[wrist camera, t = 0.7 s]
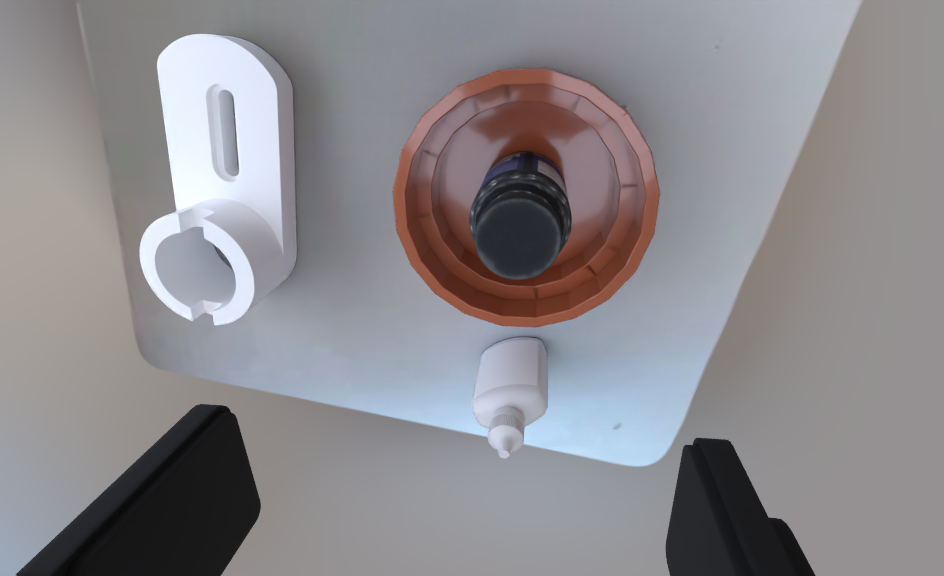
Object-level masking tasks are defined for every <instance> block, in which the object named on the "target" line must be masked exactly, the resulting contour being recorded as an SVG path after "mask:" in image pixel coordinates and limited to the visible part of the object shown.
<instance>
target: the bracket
mask: <svg viewBox="0 0 944 576" xmlns="http://www.w3.org/2000/svg"><path fill="white" fill-rule="evenodd" d="M157 70H158V78H159V85H160V92H161V100H162V107H163V114H164V122H165V129H166V136H167V144H168V151H169V158H170V166H171V173H172V180H173V188H174V195H175V203H176V210H177V211H176V212H174V213H171V214H169V215H166V216H164V217H161V218H159V219H157V220H156V221H154V222H153V223H152V224H151V225H150V226H149V227H148V228H147V230H146V231H145V233H144V235H143V237H142V240H141V244H140V261H141V266H142V269H143V273H144V275H145V277H146V279H147V281H148V283H149V285H150V287H151V288H152V290H153V291H154V292H155V294H156V295H157V296H158V297H159V298H160V299H161V300H162V301H163V302H164V303H165V304H166V305H167V306H168V307H169V308H170V309H172V310H173V311H175V312H176V313H178V314H179V315H181V316H183V317H185V318H187V319H189V320H191V321H193V320H195V319H196V318H197V317H199V316H200V315H201V314H203V313H204V312H205V313H208V314H212V315H213V320H214V325H223V324H227V323H231V322H233V321H235V320H237V319H238V318H240V317H241V316H242V315H244V314H245V313H246V312H247V311H248V310H250V309H251V308H252V307H253V306H254V305H256V304H257V303H258V302H259V301H260V300H262V299H263V298H264V297H265V296H266V295H268V294H269V293H270V292H271V291H272V290H273V289H275V288H276V287H277V286H278V285H279V284H281V283H282V282H283V281H284V280H285V279H286V278H287V277H288V276H289V275H290V274H291V272H292V270H293V269H294V266H295V263H296V258H297V240H296V200H295V159H294V118H293V87H292V83H291V81H290V79H289V77H288V76H287V74H286V73H285V71H284V70H283V69H282V67H281V66H280V65H279V64H278V63H277V62H276V61H275V60H274V58H273V57H271V56H270V55H269V54H268V53H267V52H265V51H264V50H263V49H261V48H260V47H258V46H256V45H255V44H253V43H251V42H248V41H246V40H243V39H240V38H237V37H232V36H222V35H210V34H194V35H188V36H185V37H182V38H180V39H178V40H176V41H174V42H173V43H171V44H170V45H169V46H168V47H167V48H165V49H164V51H163V52H162V53H161V54H160V56H159V58H158V61H157ZM232 95H233V97H234V106H235V120H236V133H237V146H238V160H239V167H238V163H237V150H236V137H235V123H234V110H233V97H232ZM213 244H214V245H215V246H216V247H218V248H219V249H220V250H221V251H222V253H223V254H224V255H225V256H226V257H227V259H228V261H229V262H230V264H231V266H232V268H233V269H232V268H230V267H229V266H228V265H227V264H226V263H225V262H224V261H223V260H222V259H221V258H220V256H219V255H218V253H217V252H216V250H215V247H214V245H213Z"/></svg>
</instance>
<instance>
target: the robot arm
mask: <svg viewBox="0 0 944 576" xmlns="http://www.w3.org/2000/svg"><path fill="white" fill-rule="evenodd" d="M260 508H261V503H260V499H259V495H258V492H257V488H256V485H255V481H254V478H253V474H252V471H251V467H250V464H249V460H248V456H247V453H246V449H245V446H244V442H243V439H242V435H241V432H240V428H239V425H238V421H237V418H236V416H235V415H234V414H233V413H231V412H230V409H229V408H228V407H226V406H222V405H205V404H200V405H196V406H195V407H193V408H192V409H191V410H190V411H189V412H188V413H187V414H186V415H185V416H184V417H183V418H181V419H180V420H179V421H178V422H177V423H176V424H175V425H174V426H173V427H172V428H171V429H170V430H169V431H168V432H167V433H166V434H165V435H163V436H162V437H161V438H160V439H159V440H158V441H157V442H156V443H155V444H154V445H153V446H152V447H151V448H150V449H149V450H147V451H146V452H145V453H144V455H142V456H141V457H140V458H139V459H138V460H137V461H136V462H135V463H134V464H133V465H132V466H130V468H128V469H127V470H126V471H125V472H124V473H123V474H122V475H121V476H120V477H119V478H118V479H117V480H116V481H115V482H114V483H112V484H111V486H109V487H108V488H107V489H106V490H105V491H104V492H103V493H102V494H101V495H100V496H99V497H98V498H97V499H96V500H94V501H93V502H92V503H91V504H90V505H89V506H88V507H87V508H86V509H85V510H84V511H83V512H82V513H81V514H80V515H79V516H77V518H75V519H74V520H73V521H72V522H71V523H70V524H69V525H68V526H67V527H66V528H65V529H64V530H63V531H61V533H59V534H58V535H57V536H56V537H55V538H54V539H53V540H52V541H51V542H50V543H49V544H48V545H47V546H46V547H45V548H43V549H42V550H41V551H40V552H39V553H38V554H37V555H36V556H35V557H34V558H33V559H32V560H31V561H30V562H29V563H28V564H27V565H25V566H24V568H22V569H21V570H20V571H19V572H18V573H17V574H16V575H17V576H221V574H222V573H223V571H224V570H225V568H226V567H227V565H228V564H229V562H230V561H231V559H232V557H233V556H234V554H235V553H236V551H237V550H238V548H239V547H240V545H241V544H242V542H243V541H244V539H245V537H246V536H247V534H248V533H249V531H250V529H251V528H252V527H253V525H254V524H255V522H256V520H257V519H258V516H259V513H260ZM666 558H667V564H668V568H669V572H670V576H815V574H814V572H813V570H812V568H811V567H810V565H809V563H808V561H807V559H806V557H805V555H804V553H803V551H802V550H801V548H800V546H799V544H798V542H797V540H796V538H795V537H794V534H793V533H792V531H791V530H790V528H789V527H788V525H787V524H786V523H785V522H784V521H783V520H781V519H777V518H768V516H767V514H766V512H765V510H764V508H763V506H762V504H761V502H760V500H759V498H758V496H757V494H756V491H755V489H754V487H753V486H752V483H751V481H750V479H749V477H748V476H747V473H746V471H745V469H744V467H743V465H742V463H741V461H740V459H739V457H738V455H737V453H736V451H735V449H734V447H733V445H732V444H731V442H730V441H728V440H722V439H707V438H696V439H695V440H694V442H693V445H685V446H684V448H683V452H682V457H681V463H680V468H679V474H678V479H677V485H676V490H675V496H674V501H673V507H672V512H671V518H670V523H669V529H668V534H667V540H666Z"/></svg>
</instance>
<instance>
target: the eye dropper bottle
mask: <svg viewBox="0 0 944 576" xmlns="http://www.w3.org/2000/svg"><path fill="white" fill-rule="evenodd" d="M547 407H548V356H547V353H546V350H545V347H544V345H543V343H542V341H541V340H539V339H537V338H529V337H518V338H511V339H507V340H503V341H501V342H498V343H496V344H494V345H492V346H491V347H489V348H488V349H486V350H485V351H484V352H483V354H482V355H481V359H480V364H479V369H478V373H477V378H476V383H475V387H474V392H473V398H472V411H473V414H474V416H475V418H476V420H477V422H478V423H479V424H480V425H481V426H483V427H486V428H489V432H488V440H489V443H490V444H491V446H492V447H494V448H495V449H497V450H498V453H499V456H500V457H501V458H508V456H509V455H510V452H513V451H516V450H518V449H519V448H520V447H521V446H522V444H523V441H524V427H525V426H527V425H529V424H531V423H533V422H534V421H536V420H537V419H539V418H540V417H541V416H542V415H544V414H545V412H546V411H547Z"/></svg>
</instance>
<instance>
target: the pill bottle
mask: <svg viewBox="0 0 944 576" xmlns="http://www.w3.org/2000/svg"><path fill="white" fill-rule="evenodd" d="M571 221H572V214H571V209H570V204H569V200H568V195H567V190H566V185H565V181H564V177H563V175H562V173H561V172H560V170H559V169H558V167H557V166H556V164H555V163H554V162H553V161H552V160H550V159H549V158H547V157H545V156H544V155H541V154H538V153H534V152H529V151H518V152H513V153H511V154H508V155H505V156H504V157H502V158H501V159H499V160H498V161H497V162H496V163H495V164H493V165H492V166H491V168H490V169H489V171H488V172H487V174H486V176H485V178H484V181H483V183H482V185H481V187H480V189H479V191H478V193H477V195H476V197H475V198H474V201H473V203H472V206H471V210H470V216H469V226H470V232H471V236H472V239H473V242H474V243H475V247H476V251H477V254H478V256H479V258H480V259H481V261H482V262H483V264H484V265H485V266H486V267H487V268H488V269H489V270H490V271H492V272H493V273H495V274H497V275H499V276H501V277H504V278H507V279H512V280H524V279H529V278H533V277H535V276H538V275H539V274H541V273H543V272H545V271H546V270H547V269H548V268H549V267H550V266H551V265H552V264H553V263H554V261H555V260H556V258H557V256H558V254H559V253H560V252H561V251H562V249H563V247H564V246H565V244H566V242H567V240H568V238H569V235H570V232H571V224H572V222H571Z"/></svg>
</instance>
